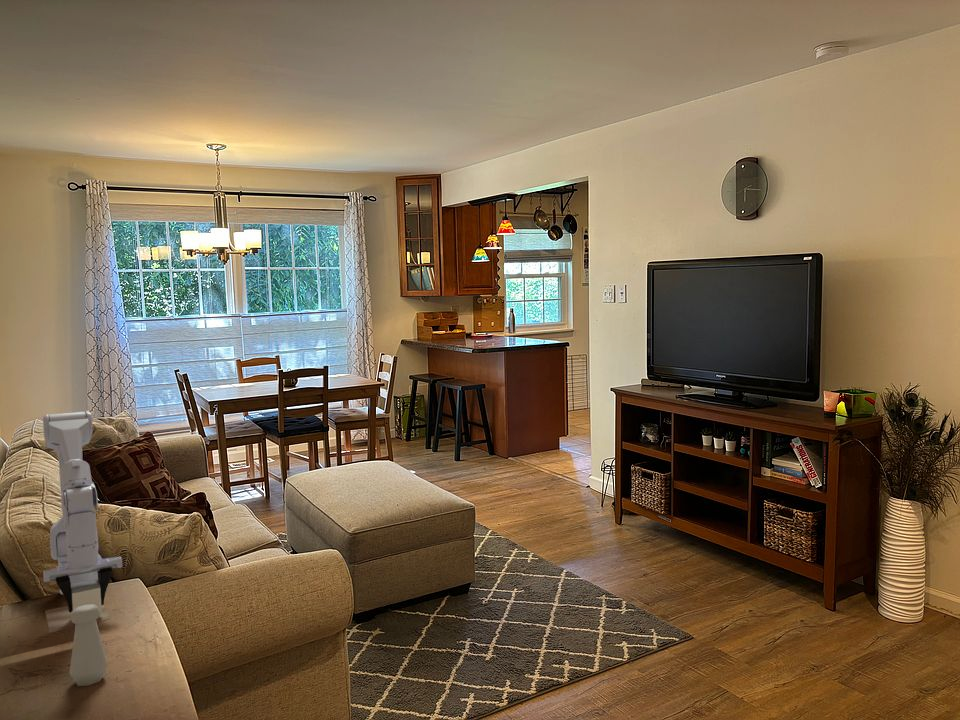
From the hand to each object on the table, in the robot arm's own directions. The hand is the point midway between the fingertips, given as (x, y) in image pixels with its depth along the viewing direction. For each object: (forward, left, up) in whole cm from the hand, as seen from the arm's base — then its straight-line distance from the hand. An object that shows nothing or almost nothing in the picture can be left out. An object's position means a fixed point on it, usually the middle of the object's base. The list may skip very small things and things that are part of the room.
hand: (86, 607), depth 153 cm
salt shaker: (+23, +22, -4) cm, 32 cm away
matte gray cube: (0, 0, -1) cm, 1 cm away
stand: (-2, -4, -3) cm, 6 cm away
